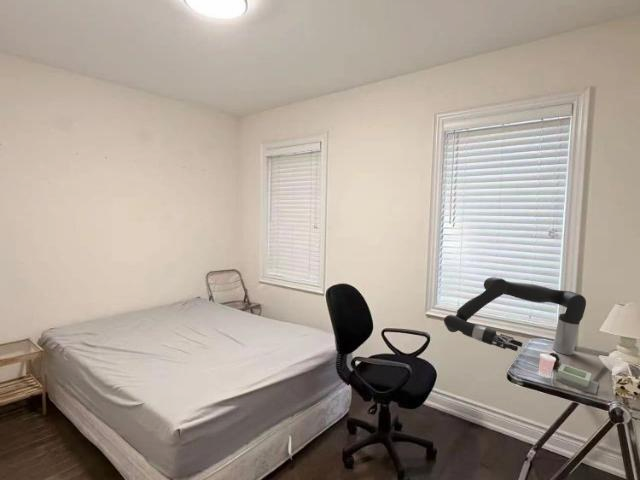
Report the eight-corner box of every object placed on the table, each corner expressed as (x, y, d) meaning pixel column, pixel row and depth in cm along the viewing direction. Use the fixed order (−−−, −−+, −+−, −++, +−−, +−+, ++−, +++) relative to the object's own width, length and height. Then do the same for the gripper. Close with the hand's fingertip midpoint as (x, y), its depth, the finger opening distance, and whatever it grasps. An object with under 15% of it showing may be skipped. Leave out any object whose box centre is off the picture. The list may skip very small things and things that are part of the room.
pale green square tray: (560, 371, 161) (562, 362, 161) (598, 384, 152) (600, 375, 151) (555, 380, 151) (557, 371, 150) (595, 395, 141) (597, 385, 141)
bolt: (554, 363, 174) (552, 371, 163) (545, 355, 177) (542, 363, 165) (563, 356, 172) (561, 364, 160) (554, 348, 175) (551, 355, 163)
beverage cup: (555, 378, 152) (561, 349, 151) (544, 379, 151) (550, 349, 149) (544, 371, 158) (549, 343, 157) (533, 371, 157) (538, 343, 155)
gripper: (480, 330, 166) (517, 342, 155) (489, 324, 177) (525, 336, 166) (477, 344, 167) (514, 358, 156) (487, 338, 177) (522, 350, 167)
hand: (519, 346), depth 161 cm, fingers open, 8 cm apart
